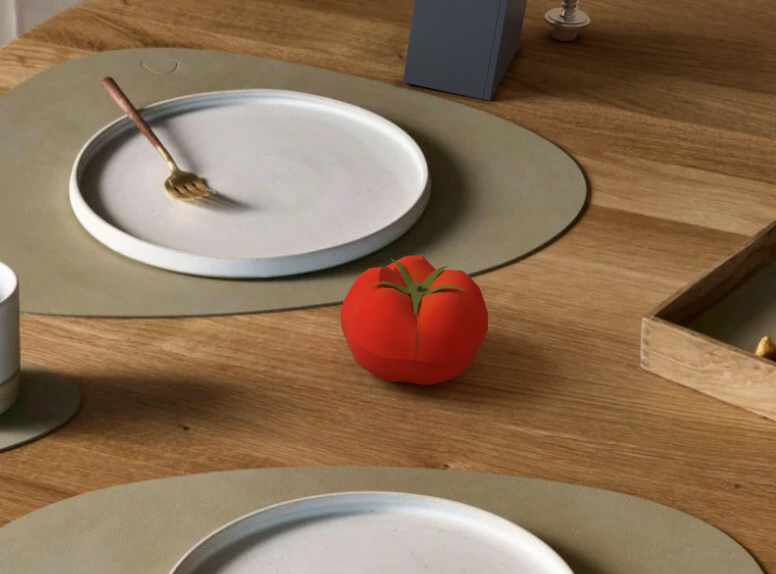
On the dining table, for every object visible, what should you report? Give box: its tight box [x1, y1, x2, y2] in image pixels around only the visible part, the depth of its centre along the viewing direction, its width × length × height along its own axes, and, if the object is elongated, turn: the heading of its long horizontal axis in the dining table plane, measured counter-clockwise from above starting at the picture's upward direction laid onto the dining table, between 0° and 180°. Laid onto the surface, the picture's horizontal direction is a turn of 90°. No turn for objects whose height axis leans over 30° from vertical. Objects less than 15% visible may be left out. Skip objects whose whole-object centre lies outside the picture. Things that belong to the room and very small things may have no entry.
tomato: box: [339, 254, 489, 386], centre depth 113 cm, size 11×11×8 cm
